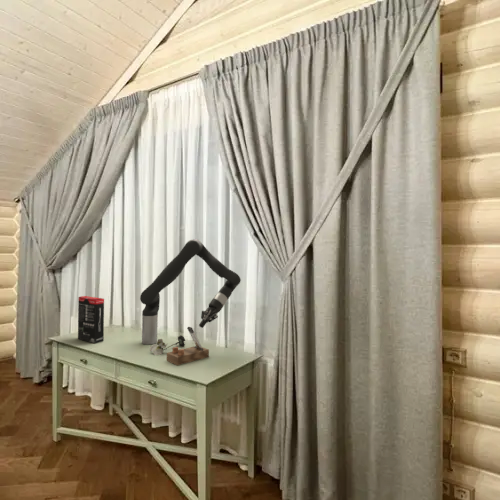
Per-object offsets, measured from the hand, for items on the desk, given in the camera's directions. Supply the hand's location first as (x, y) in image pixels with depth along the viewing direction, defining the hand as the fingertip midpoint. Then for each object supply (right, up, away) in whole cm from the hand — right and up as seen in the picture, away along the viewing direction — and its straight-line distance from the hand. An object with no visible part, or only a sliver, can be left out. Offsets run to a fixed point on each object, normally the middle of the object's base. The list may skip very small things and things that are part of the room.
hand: (200, 326), depth 185 cm
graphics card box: (-73, -15, +25) cm, 78 cm away
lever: (-3, -6, -3) cm, 7 cm away
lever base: (-6, -16, -6) cm, 18 cm away
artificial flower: (-20, -16, +9) cm, 27 cm away
